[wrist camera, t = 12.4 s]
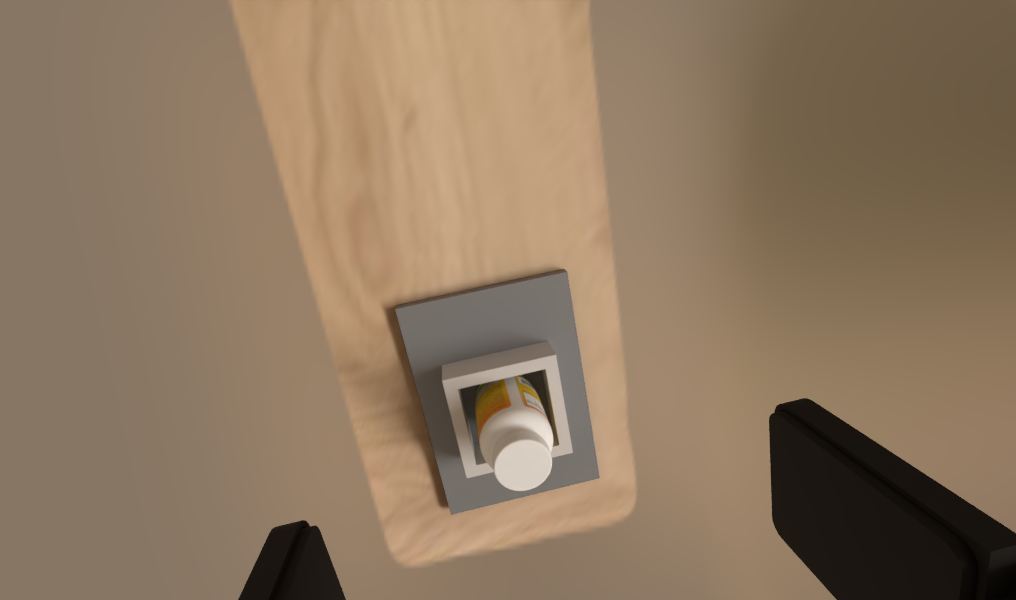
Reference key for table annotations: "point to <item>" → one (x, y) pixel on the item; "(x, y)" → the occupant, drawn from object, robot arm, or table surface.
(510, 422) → the supplement bottle
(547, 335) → the cup holder
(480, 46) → the table surface
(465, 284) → the table surface
